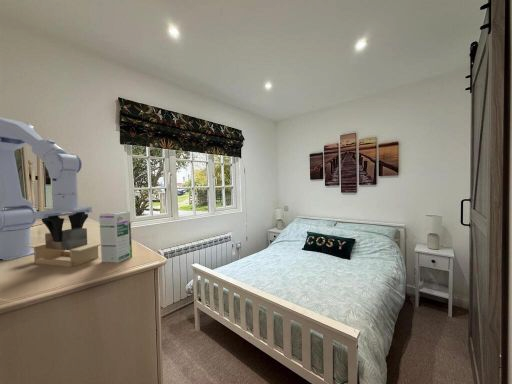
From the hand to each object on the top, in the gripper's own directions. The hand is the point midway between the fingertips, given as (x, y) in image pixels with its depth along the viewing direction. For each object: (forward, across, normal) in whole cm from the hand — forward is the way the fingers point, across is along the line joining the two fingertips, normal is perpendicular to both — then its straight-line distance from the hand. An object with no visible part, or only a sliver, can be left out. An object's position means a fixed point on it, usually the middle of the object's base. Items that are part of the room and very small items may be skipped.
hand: (67, 239), depth 65 cm
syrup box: (+7, +4, -14) cm, 16 cm away
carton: (+6, 0, 0) cm, 7 cm away
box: (+2, 0, 0) cm, 2 cm away
